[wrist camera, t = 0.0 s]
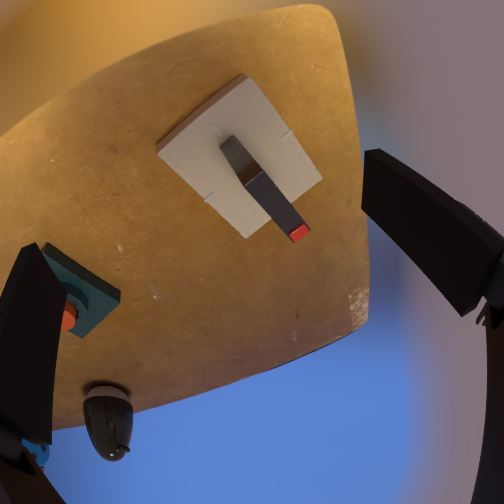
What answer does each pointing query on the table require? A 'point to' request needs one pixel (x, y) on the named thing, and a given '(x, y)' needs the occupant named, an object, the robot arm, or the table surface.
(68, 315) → the button
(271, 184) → the tap handle
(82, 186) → the table surface
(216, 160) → the plate
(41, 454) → the alarm clock
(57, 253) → the button block
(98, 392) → the dark egg shaped device
